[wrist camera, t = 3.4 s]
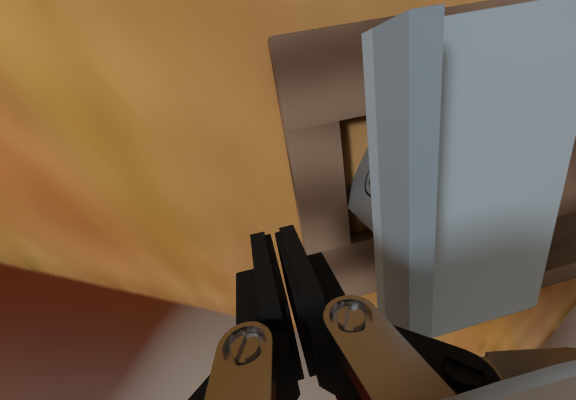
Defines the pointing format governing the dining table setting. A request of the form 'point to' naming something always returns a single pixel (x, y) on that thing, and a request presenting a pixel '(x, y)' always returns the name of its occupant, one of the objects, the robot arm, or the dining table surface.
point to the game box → (328, 150)
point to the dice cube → (361, 193)
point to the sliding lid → (467, 157)
